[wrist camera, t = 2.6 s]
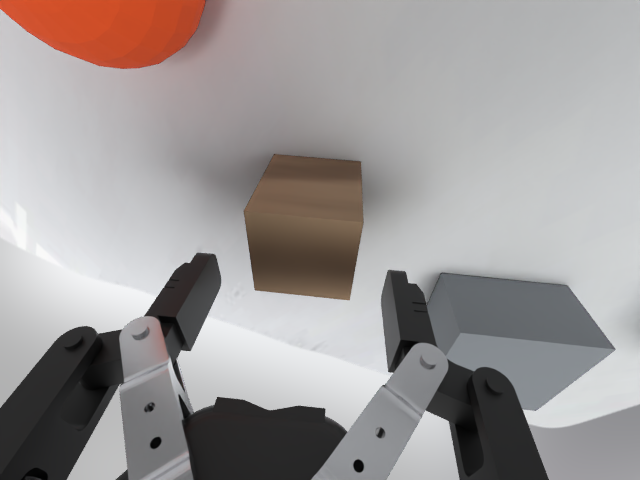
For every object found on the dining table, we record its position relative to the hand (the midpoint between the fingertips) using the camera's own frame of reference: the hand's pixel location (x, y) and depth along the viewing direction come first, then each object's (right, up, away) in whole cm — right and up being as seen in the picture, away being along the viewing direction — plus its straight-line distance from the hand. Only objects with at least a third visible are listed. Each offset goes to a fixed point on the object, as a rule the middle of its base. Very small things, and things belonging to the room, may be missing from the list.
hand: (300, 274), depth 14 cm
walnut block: (+1, +4, +5) cm, 6 cm away
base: (+14, -5, +10) cm, 18 cm away
